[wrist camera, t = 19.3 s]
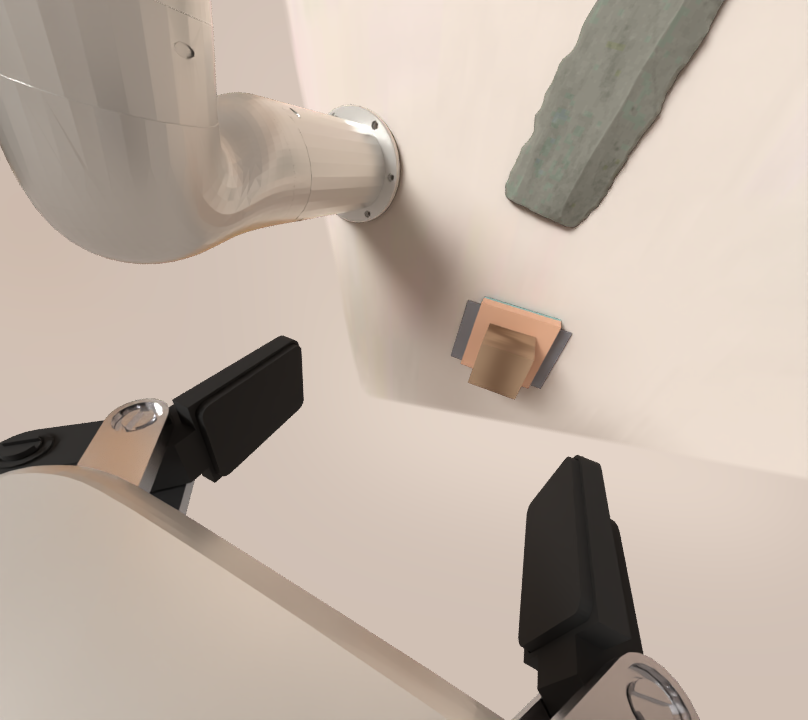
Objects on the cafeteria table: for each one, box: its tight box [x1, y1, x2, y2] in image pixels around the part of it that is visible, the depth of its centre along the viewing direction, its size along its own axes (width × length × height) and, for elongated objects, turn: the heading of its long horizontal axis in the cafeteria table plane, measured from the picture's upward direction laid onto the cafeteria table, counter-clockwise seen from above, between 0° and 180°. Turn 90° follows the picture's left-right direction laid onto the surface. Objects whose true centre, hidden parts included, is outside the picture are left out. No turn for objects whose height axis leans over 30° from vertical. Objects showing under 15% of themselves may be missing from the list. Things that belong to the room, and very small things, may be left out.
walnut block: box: [468, 323, 536, 400], centre depth 38 cm, size 6×6×6 cm
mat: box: [451, 300, 572, 389], centre depth 43 cm, size 14×10×1 cm
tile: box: [461, 297, 561, 388], centre depth 41 cm, size 10×2×10 cm
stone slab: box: [505, 0, 724, 227], centre depth 27 cm, size 22×3×10 cm
